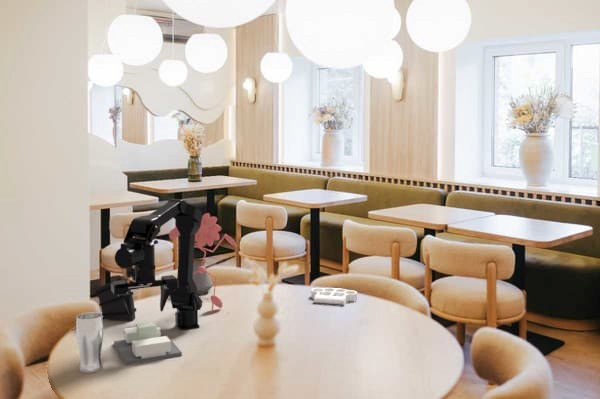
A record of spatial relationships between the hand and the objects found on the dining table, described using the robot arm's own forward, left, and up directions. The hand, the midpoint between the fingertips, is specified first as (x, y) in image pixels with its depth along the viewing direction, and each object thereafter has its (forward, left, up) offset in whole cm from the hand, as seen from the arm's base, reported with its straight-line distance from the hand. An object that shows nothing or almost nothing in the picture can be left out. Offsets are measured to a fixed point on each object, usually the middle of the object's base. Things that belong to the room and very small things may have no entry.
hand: (145, 313), depth 184 cm
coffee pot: (-37, -54, -12) cm, 66 cm away
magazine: (+3, -34, -12) cm, 36 cm away
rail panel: (0, 0, -11) cm, 11 cm away
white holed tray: (-77, -23, -12) cm, 81 cm away
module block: (0, 0, -10) cm, 10 cm away
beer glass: (+17, +8, -11) cm, 22 cm away
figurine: (-29, -34, -11) cm, 46 cm away
